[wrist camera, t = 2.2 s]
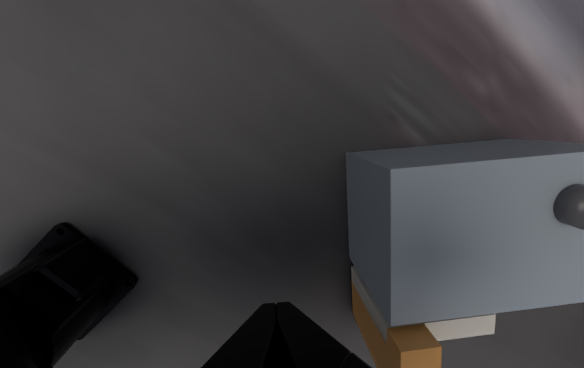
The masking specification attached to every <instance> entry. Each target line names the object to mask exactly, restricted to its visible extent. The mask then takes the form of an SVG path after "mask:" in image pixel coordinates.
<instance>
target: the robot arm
mask: <svg viewBox="0 0 584 368" xmlns="http://www.w3.org/2000/svg"><path fill="white" fill-rule="evenodd" d="M61 228H62V229H63V230H64V233H63V232H62V231H61ZM127 280H130V281H131V282H132V283H129V282H128V281H127ZM137 282H138V278H137V277H136V275H134V274H133V273H132V272H130V271H129V270H128V269H127V268H125V267H124V266H123V265H121V264H120V263H119V262H117V260H115V259H114V258H113V257H112V256H110V255H109V254H108V253H106V252H105V251H104V250H102V249H101V248H100V247H99V246H97V245H96V244H95V243H93V242H92V241H91V240H89V239H88V238H86V237H85V236H84V235H82V234H81V233H80V232H78V231H77V230H76V229H75V228H73V227H72V226H71V225H69V224H67V223H60V224H58V225H56V226H54V227H53V228H52V229H51V230H50V231H49V232H48V233H47V235H46V236H45V237H44V238H43V239H42V240H41V241H40V242H39V243H38V244H37V245H36V246H35V247H34V248H33V250H32V251H31V252H30V253H29V254H28V255H27V256H26V257H25V258H24V259H23V260H22V261H21V262H20V263H19V264H18V266H16V267H14V268H12V269H11V270H9V271H7V272H5V273H4V274H2V275H0V368H53V366H54V365H55V364H56V363H57V362H58V360H59V359H60V358H61V357H62V356H63V355H64V354H65V352H66V351H67V350H68V349H69V348H70V347H71V346H72V345H73V343H74V342H75V341H76V340H81V339H82V338H84V337H85V336H86V335H87V334H88V333H89V332H90V331H91V330H92V329H93V328H94V327H95V326H96V325H97V324H98V323H99V322H100V321H101V320H102V319H103V318H104V317H105V316H106V315H107V314H108V313H109V312H110V311H111V310H112V309H113V308H114V307H115V306H116V305H117V304H118V303H119V302H120V301H121V300H122V299H123V298H124V297H125V296H126V295H127V294H128V293H129V292H130V291H131V290H132V289H133V288H134V287H135V285H136V284H137ZM276 315H277V317H276ZM277 336H278V337H277ZM278 355H279V358H278ZM201 368H372V367H370V366H369V365H368V364H367V363H365V362H364V361H363V360H361V359H360V358H359V357H358V356H356V355H355V354H354V353H351V351H349V350H348V349H347V348H346V347H344V346H343V345H342V344H341V343H339V342H338V341H337V340H336V339H335V338H333V337H332V336H331V335H330V334H328V333H327V332H326V331H325V330H323V329H322V328H321V327H320V326H318V325H317V324H316V323H315V322H314V321H312V320H311V319H310V318H309V317H307V316H306V315H305V314H304V313H302V312H301V311H300V310H299V309H298V308H296V307H295V306H294V305H293V304H291V303H290V302H278V303H277V304H275V303H266V304H262V305H261V306H260V307H259V308H258V309H257V310H256V311H255V312H254V313H253V314H252V315H251V316H250V317H249V318H248V319H247V320H246V322H245V323H244V324H243V325H242V326H241V327H240V328H239V329H238V330H237V331H236V332H235V333H234V334H233V335H232V336H231V337H230V338H229V339H228V340H227V341H226V342H225V343H224V344H223V345H222V346H221V347H220V349H219V350H218V351H217V352H216V353H215V354H214V355H213V356H212V357H211V358H210V359H209V360H208V361H207V362H206V363H205V364H204V365H203V367H201Z"/></svg>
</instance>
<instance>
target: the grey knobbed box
mask: <svg viewBox="0 0 584 368" xmlns="http://www.w3.org/2000/svg"><path fill="white" fill-rule="evenodd" d="M346 179H347V207H348V234H349V258H350V260H351V261H352V263H353V265H354V266H355V268H356V270H357V271H358V273H359V275H360V276H361V278H362V280H363V281H364V283H365V285H366V286H367V288H368V289H369V291H370V293H371V294H372V296H373V298H374V299H375V301H376V303H377V304H378V306H379V308H380V309H381V311H382V313H383V314H384V316H385V318H386V319H387V321H388V323H389V324H390V326H399V325H407V324H415V323H423V322H431V321H438V320H446V319H454V318H462V317H470V316H478V315H486V314H494V313H502V312H510V311H518V310H525V309H533V308H541V307H549V306H557V305H565V304H573V303H581V302H584V143H569V142H553V141H537V140H521V139H499V140H487V141H475V142H464V143H452V144H440V145H429V146H417V147H405V148H394V149H382V150H370V151H359V152H347V153H346Z"/></svg>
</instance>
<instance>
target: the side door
mask: <svg viewBox="0 0 584 368" xmlns="http://www.w3.org/2000/svg"><path fill="white" fill-rule="evenodd" d="M351 280H352V309H353V315H354V317H355V320H356V322H357V324H358V326H359V329H360V331H361V333H362V335H363V338H364V340H365V342H366V344H367V347H368V349H369V351H370V353H371V356H372V358H373V360H374V362H375V365H376V367H377V368H441V356H442V346H441V345H440V344H439V342H438V341H442V340H450V339H457V338H465V337H473V336H480V335H488V334H494V329H495V318H496V314H495V313H494V314H486V315H478V316H470V317H462V318H454V319H446V320H438V321H431V322H423V323H415V324H407V325H399V326H390V324H389V323H388V321H387V319H386V318H385V316H384V314H383V313H382V311H381V309H380V308H379V306H378V304H377V303H376V301H375V299H374V298H373V296H372V294H371V293H370V291H369V289H368V288H367V286H366V285H365V283H364V281H363V280H362V278H361V276H360V275H359V273H358V271H357V270H356V268H355V266H351Z"/></svg>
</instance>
